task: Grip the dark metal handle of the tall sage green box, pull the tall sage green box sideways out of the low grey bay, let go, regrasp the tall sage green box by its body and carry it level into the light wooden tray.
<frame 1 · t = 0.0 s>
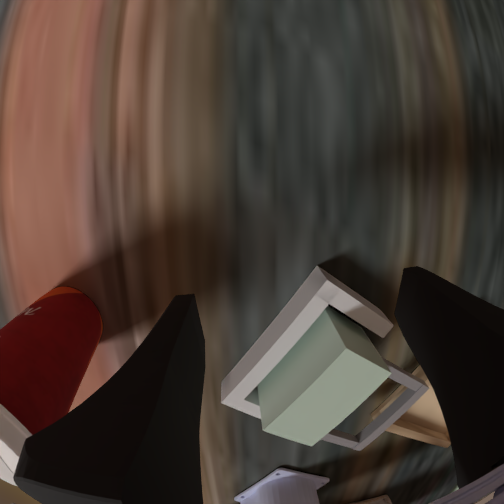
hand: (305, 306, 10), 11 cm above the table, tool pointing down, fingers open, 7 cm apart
tray: (454, 385, 27), on the table
tall sage green box: (308, 352, 24), on the table
paper cup: (73, 317, 22), on the table
bay: (308, 353, 24), on the table
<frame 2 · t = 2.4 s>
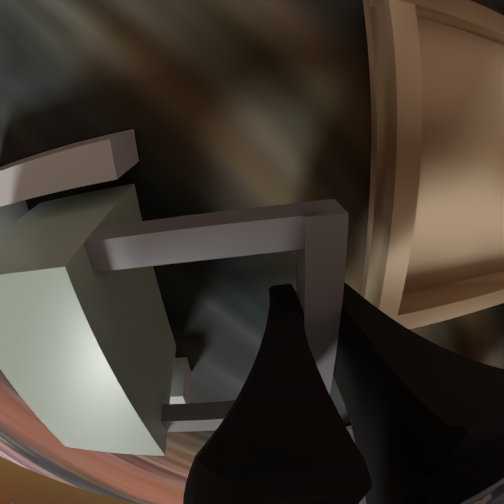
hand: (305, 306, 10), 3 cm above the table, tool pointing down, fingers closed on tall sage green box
tall sage green box: (108, 281, 13), on the table, touching gripper
bay: (109, 281, 13), on the table
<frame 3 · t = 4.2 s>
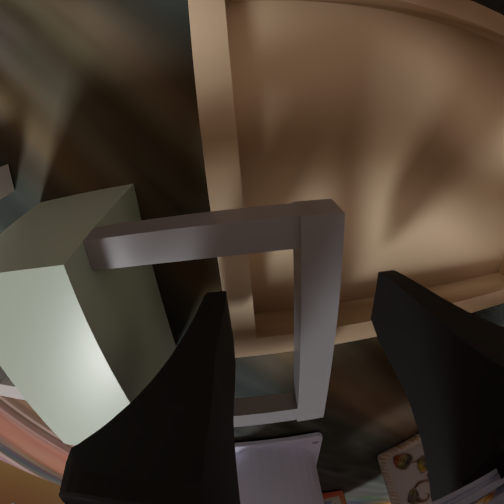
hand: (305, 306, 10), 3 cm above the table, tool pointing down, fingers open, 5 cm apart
cracker box: (281, 500, 29), on the table
tray: (414, 161, 11), on the table
tall sage green box: (108, 280, 13), on the table
decorative jar: (436, 436, 25), on the table
bay: (12, 289, 12), on the table
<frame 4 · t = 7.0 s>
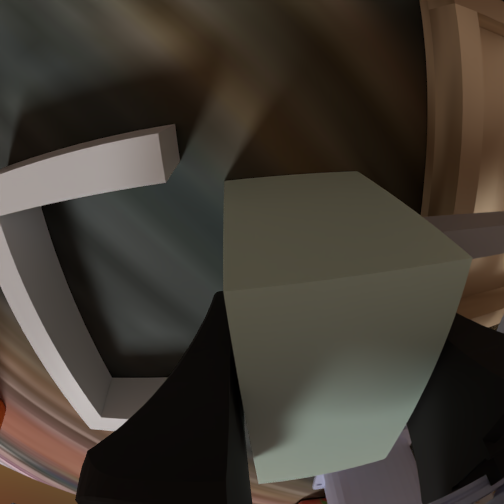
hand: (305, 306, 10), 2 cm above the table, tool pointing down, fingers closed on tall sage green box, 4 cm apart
cracker box: (346, 497, 28), on the table
tall sage green box: (295, 280, 12), on the table, touching gripper
bay: (138, 296, 12), on the table
when the fingers open (4 cm above the table, at t = 10.6 s): tall sage green box drops 1 cm, resting on tray.
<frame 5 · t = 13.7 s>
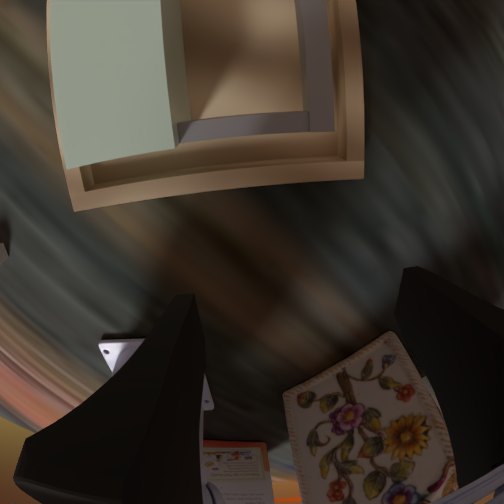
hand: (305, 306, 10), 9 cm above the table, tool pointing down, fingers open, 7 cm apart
cracker box: (203, 446, 32), on the table
tray: (201, 58, 14), on the table
tall sage green box: (144, 66, 14), resting on tray
decorative jar: (358, 385, 28), on the table
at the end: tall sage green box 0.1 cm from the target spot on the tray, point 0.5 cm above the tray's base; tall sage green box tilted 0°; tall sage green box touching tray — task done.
